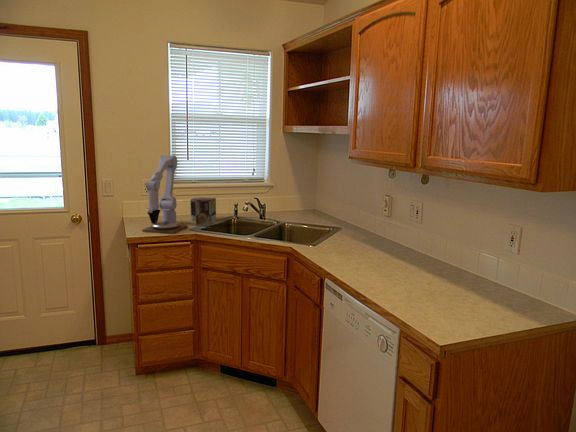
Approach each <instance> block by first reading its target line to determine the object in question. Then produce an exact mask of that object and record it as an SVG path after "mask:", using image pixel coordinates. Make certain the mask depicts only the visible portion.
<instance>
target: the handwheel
mask: <svg viewBox="0 0 576 432" xmlns="http://www.w3.org/2000/svg"><path fill="white" fill-rule="evenodd" d="M176 221H177V220H176ZM176 221H163V220H162V221H157V218H156V222H155V223H151V224H150V226H151V227H153V228H159V229H167V228H175V227H178V226H180V225H181V224H180V222H179V221H178V222H176Z"/></svg>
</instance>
